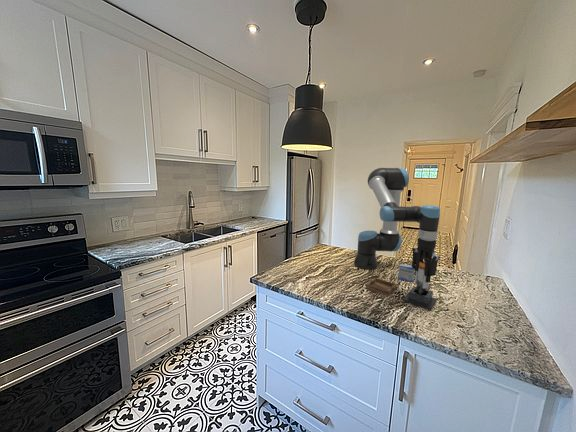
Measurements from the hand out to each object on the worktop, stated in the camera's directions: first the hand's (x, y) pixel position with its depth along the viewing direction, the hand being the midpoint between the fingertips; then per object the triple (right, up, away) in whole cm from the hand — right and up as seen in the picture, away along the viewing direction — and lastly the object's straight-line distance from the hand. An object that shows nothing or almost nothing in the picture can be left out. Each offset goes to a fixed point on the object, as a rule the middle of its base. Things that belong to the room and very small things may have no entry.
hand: (421, 285), depth 118 cm
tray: (-14, -6, +13) cm, 20 cm away
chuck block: (0, -8, +1) cm, 8 cm away
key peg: (0, -3, +1) cm, 3 cm away
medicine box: (+5, -4, +26) cm, 26 cm away
